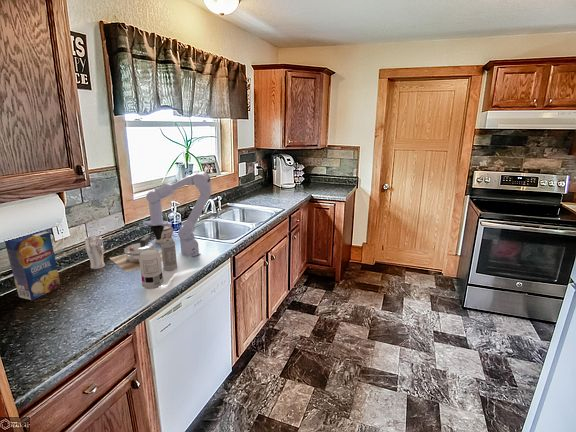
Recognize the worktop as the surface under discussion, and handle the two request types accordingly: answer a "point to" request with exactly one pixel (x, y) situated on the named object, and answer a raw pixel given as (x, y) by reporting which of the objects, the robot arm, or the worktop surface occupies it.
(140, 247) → the cooker lid
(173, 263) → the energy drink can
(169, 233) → the teacup with lid
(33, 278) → the juice carton
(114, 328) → the worktop surface
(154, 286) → the supplement can
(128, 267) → the trivet board
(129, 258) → the cream flat block
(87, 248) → the beer glass
